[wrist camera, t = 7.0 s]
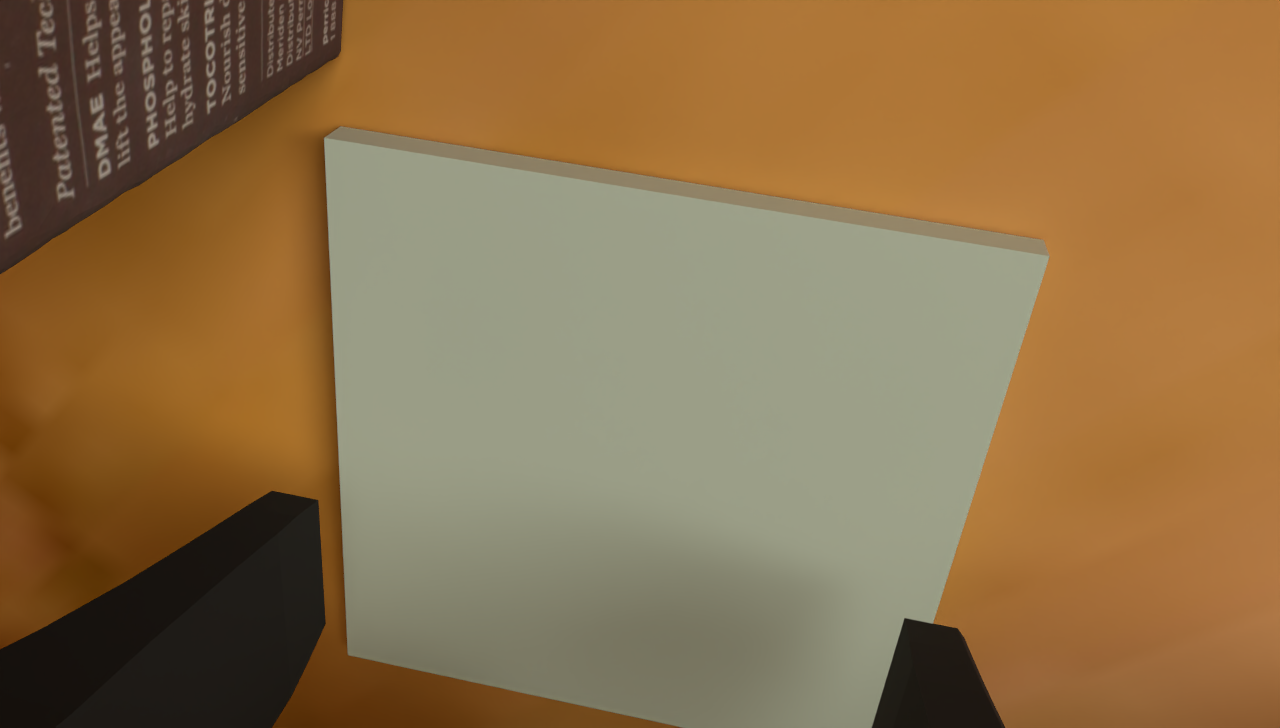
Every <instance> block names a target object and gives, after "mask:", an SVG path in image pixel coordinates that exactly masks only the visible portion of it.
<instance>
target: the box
mask: <svg viewBox="0 0 1280 728" xmlns="http://www.w3.org/2000/svg"><path fill="white" fill-rule="evenodd" d="M342 11H343V0H0V274H1V273H3V272H5V271H6V270H8V269H9V268H11V267H12V266H14V265H15V264H17V263H18V262H20V261H21V260H23V259H24V258H26V257H27V256H29V255H30V254H32V253H33V252H35V251H36V250H38V249H39V248H41V247H42V246H43V245H45V244H46V243H47V242H49V241H50V240H51V239H53V238H54V237H56V236H58V235H60V234H62V233H63V232H65V231H67V230H68V229H69V228H71V227H72V226H74V225H75V224H77V223H78V222H80V221H82V220H83V219H85V218H87V217H88V216H90V215H92V214H93V213H95V212H96V211H98V210H99V209H101V208H102V207H104V206H106V205H107V204H108V203H110V202H111V201H113V200H114V199H115V198H117V197H118V196H120V195H121V194H122V193H124V192H126V191H128V190H130V189H132V188H134V187H136V186H138V185H140V184H142V183H143V182H145V181H146V180H148V179H149V178H150V177H152V176H153V175H155V174H156V173H158V172H159V171H161V170H162V169H164V168H165V167H167V166H169V165H170V164H172V163H174V162H175V161H177V160H179V159H180V158H182V157H183V156H185V155H186V154H188V153H189V152H190V151H192V150H193V149H195V148H196V147H198V146H199V145H200V144H202V143H203V142H205V141H206V140H208V139H209V138H211V137H213V136H214V135H216V134H218V133H220V132H222V131H223V130H225V129H226V128H228V127H230V126H231V125H233V124H234V123H236V122H237V121H239V120H241V119H242V118H244V117H245V116H247V115H248V114H250V113H251V112H253V111H254V110H256V109H257V108H259V107H260V106H261V105H263V104H264V103H266V102H267V101H269V100H270V99H271V98H273V97H275V96H277V95H278V94H280V93H282V92H283V91H284V90H285V89H287V88H288V87H290V86H291V85H293V84H295V83H296V82H298V81H300V80H302V79H303V78H304V77H305V76H307V75H308V74H310V73H312V72H314V71H315V70H317V69H319V68H320V67H321V66H323V65H324V64H326V63H327V62H328V61H330V60H333V59H335V58H336V57H338V55H339V53H340V51H341V31H342Z"/></svg>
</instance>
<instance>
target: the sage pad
mask: <svg viewBox="0 0 1280 728" xmlns="http://www.w3.org/2000/svg"><path fill="white" fill-rule="evenodd" d="M324 148H325V169H326V191H327V213H328V235H329V257H330V278H331V300H332V322H333V344H334V365H335V387H336V409H337V431H338V453H339V474H340V496H341V518H342V540H343V561H344V583H345V605H346V627H347V649H348V655H350V656H354V657H359V658H363V659H368V660H373V661H377V662H382V663H387V664H391V665H396V666H400V667H405V668H410V669H414V670H419V671H424V672H428V673H433V674H437V675H442V676H447V677H451V678H456V679H461V680H465V681H470V682H474V683H479V684H484V685H488V686H493V687H498V688H502V689H507V690H511V691H516V692H521V693H525V694H530V695H535V696H539V697H544V698H548V699H553V700H558V701H562V702H567V703H572V704H576V705H581V706H585V707H590V708H595V709H599V710H604V711H609V712H613V713H618V714H622V715H627V716H632V717H636V718H641V719H646V720H650V721H655V722H659V723H664V724H669V725H673V726H678V727H683V728H872V725H873V722H874V718H875V715H876V712H877V708H878V705H879V702H880V698H881V695H882V692H883V688H884V685H885V682H886V678H887V675H888V672H889V668H890V665H891V662H892V658H893V655H894V651H895V648H896V645H897V641H898V638H899V635H900V631H901V628H902V625H903V621H904V618H907V619H912V620H917V621H922V622H927V623H932V624H933V621H934V618H935V615H936V612H937V609H938V606H939V602H940V599H941V596H942V593H943V590H944V587H945V583H946V580H947V577H948V574H949V571H950V568H951V565H952V561H953V558H954V555H955V552H956V549H957V546H958V543H959V539H960V536H961V533H962V530H963V527H964V524H965V521H966V517H967V514H968V511H969V508H970V505H971V502H972V499H973V495H974V492H975V489H976V486H977V483H978V480H979V476H980V473H981V470H982V467H983V464H984V461H985V458H986V454H987V451H988V448H989V445H990V442H991V439H992V436H993V432H994V429H995V426H996V423H997V420H998V417H999V414H1000V410H1001V407H1002V404H1003V401H1004V398H1005V395H1006V392H1007V388H1008V385H1009V382H1010V379H1011V376H1012V373H1013V369H1014V366H1015V363H1016V360H1017V357H1018V354H1019V351H1020V347H1021V344H1022V341H1023V338H1024V335H1025V332H1026V329H1027V325H1028V322H1029V319H1030V316H1031V313H1032V310H1033V307H1034V303H1035V300H1036V297H1037V294H1038V291H1039V288H1040V285H1041V281H1042V278H1043V275H1044V272H1045V269H1046V266H1047V262H1048V259H1049V253H1048V251H1047V248H1046V245H1045V242H1044V240H1040V239H1034V238H1028V237H1022V236H1016V235H1010V234H1003V233H997V232H991V231H985V230H979V229H972V228H966V227H960V226H954V225H948V224H942V223H935V222H929V221H923V220H917V219H911V218H904V217H898V216H892V215H886V214H880V213H874V212H867V211H861V210H855V209H849V208H843V207H836V206H830V205H824V204H818V203H812V202H806V201H799V200H793V199H787V198H781V197H775V196H768V195H762V194H756V193H750V192H744V191H738V190H731V189H725V188H719V187H713V186H707V185H700V184H694V183H688V182H682V181H676V180H669V179H663V178H657V177H651V176H645V175H639V174H632V173H626V172H620V171H614V170H608V169H601V168H595V167H589V166H583V165H577V164H571V163H564V162H558V161H552V160H546V159H540V158H533V157H527V156H521V155H515V154H509V153H503V152H496V151H490V150H484V149H478V148H472V147H465V146H459V145H453V144H447V143H441V142H435V141H428V140H422V139H416V138H410V137H404V136H397V135H391V134H385V133H379V132H373V131H367V130H360V129H354V128H348V127H342V126H340V127H339V128H337V129H336V130H335V131H333V132H332V133H330V134H329V135H327V136H326V137H324Z"/></svg>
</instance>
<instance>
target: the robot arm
mask: <svg viewBox="0 0 1280 728" xmlns="http://www.w3.org/2000/svg"><path fill="white" fill-rule="evenodd" d="M324 626H325V607H324V590H323V573H322V556H321V539H320V522H319V505H318V500H315V499H310V498H305V497H300V496H295V495H290V494H285V493H280V492H275V491H271V492H269V493H268V494H266V495H264V496H263V497H261V498H259V499H257V500H256V501H254V502H253V503H251V504H249V505H248V506H246V507H245V508H243V509H241V510H240V511H238V512H237V513H235V514H234V515H232V516H230V517H229V518H227V519H226V520H224V521H223V522H221V523H219V524H218V525H216V526H215V527H213V528H212V529H210V530H208V531H207V532H205V533H204V534H202V535H201V536H199V537H197V538H196V539H194V540H193V541H191V542H190V543H188V544H186V545H185V546H183V547H182V548H180V549H178V550H177V551H175V552H173V553H172V554H170V555H169V556H167V557H165V558H164V559H162V560H160V561H159V562H157V563H156V564H154V565H152V566H151V567H149V568H147V569H146V570H144V571H143V572H141V573H139V574H138V575H136V576H134V577H133V578H131V579H130V580H128V581H126V582H124V583H123V584H121V585H119V586H117V587H116V588H114V589H112V590H110V591H108V592H107V593H105V594H103V595H101V596H100V597H98V598H96V599H94V600H92V601H91V602H89V603H87V604H85V605H83V606H82V607H80V608H78V609H76V610H74V611H73V612H71V613H69V614H67V615H66V616H64V617H62V618H60V619H58V620H57V621H55V622H53V623H51V624H49V625H48V626H46V627H44V628H42V629H40V630H38V631H36V632H34V633H32V634H30V635H28V636H26V637H24V638H22V639H20V640H18V641H16V642H14V643H12V644H10V645H8V646H6V647H4V648H2V649H0V728H272V726H273V725H274V723H275V722H276V720H277V718H278V717H279V715H280V714H281V712H282V710H283V709H284V707H285V706H286V704H287V702H288V701H289V699H290V697H291V696H292V694H293V692H294V690H295V688H296V686H297V684H298V682H299V679H300V677H301V675H302V673H303V671H304V669H305V667H306V665H307V663H308V661H309V659H310V657H311V654H312V652H313V650H314V648H315V646H316V643H317V641H318V639H319V637H320V635H321V632H322V630H323V628H324ZM872 728H1005V726H1004V724H1003V722H1002V720H1001V718H1000V716H999V714H998V712H997V710H996V708H995V706H994V704H993V702H992V700H991V697H990V695H989V693H988V691H987V689H986V687H985V684H984V682H983V680H982V678H981V676H980V673H979V671H978V669H977V667H976V664H975V662H974V660H973V657H972V655H971V653H970V650H969V648H968V646H967V643H966V641H965V638H964V637H963V636H962V634H961V633H960V631H959V630H958V629H957V628H952V627H947V626H942V625H937V624H932V623H927V622H922V621H917V620H912V619H907V618H904V621H903V625H902V628H901V631H900V635H899V638H898V641H897V645H896V648H895V651H894V655H893V658H892V662H891V665H890V668H889V672H888V675H887V678H886V682H885V685H884V688H883V692H882V695H881V698H880V702H879V705H878V708H877V712H876V715H875V718H874V722H873V725H872Z"/></svg>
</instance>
